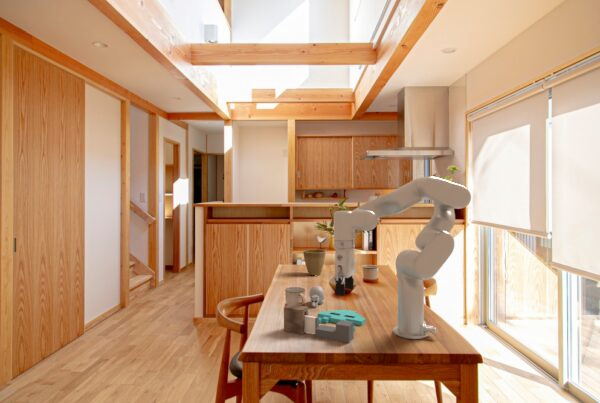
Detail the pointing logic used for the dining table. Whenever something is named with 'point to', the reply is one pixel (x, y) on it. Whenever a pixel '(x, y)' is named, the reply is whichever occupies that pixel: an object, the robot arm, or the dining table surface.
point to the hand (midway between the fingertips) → (344, 291)
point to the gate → (311, 324)
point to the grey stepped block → (337, 331)
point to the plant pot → (314, 261)
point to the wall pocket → (294, 318)
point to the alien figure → (341, 317)
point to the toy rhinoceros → (316, 295)
